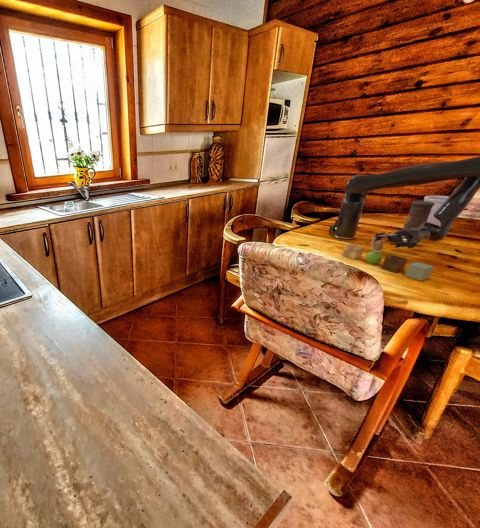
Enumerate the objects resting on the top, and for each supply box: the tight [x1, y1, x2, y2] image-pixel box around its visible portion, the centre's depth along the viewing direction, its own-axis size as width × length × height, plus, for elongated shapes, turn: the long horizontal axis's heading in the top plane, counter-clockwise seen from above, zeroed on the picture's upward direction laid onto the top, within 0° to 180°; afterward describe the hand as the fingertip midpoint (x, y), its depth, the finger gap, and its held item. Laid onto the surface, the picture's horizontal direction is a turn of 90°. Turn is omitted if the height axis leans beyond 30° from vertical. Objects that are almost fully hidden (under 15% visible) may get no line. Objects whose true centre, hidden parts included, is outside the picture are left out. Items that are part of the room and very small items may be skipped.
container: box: [401, 200, 435, 230], centre depth 147 cm, size 9×9×18 cm
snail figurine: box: [365, 233, 384, 265], centre depth 119 cm, size 5×6×12 cm
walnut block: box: [381, 254, 409, 274], centre depth 113 cm, size 5×5×5 cm
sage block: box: [404, 261, 434, 282], centre depth 106 cm, size 5×5×5 cm
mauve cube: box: [342, 243, 365, 260], centre depth 127 cm, size 5×5×5 cm
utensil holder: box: [423, 195, 450, 226], centre depth 155 cm, size 15×15×18 cm
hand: (384, 242), depth 119 cm, fingers open, 8 cm apart
